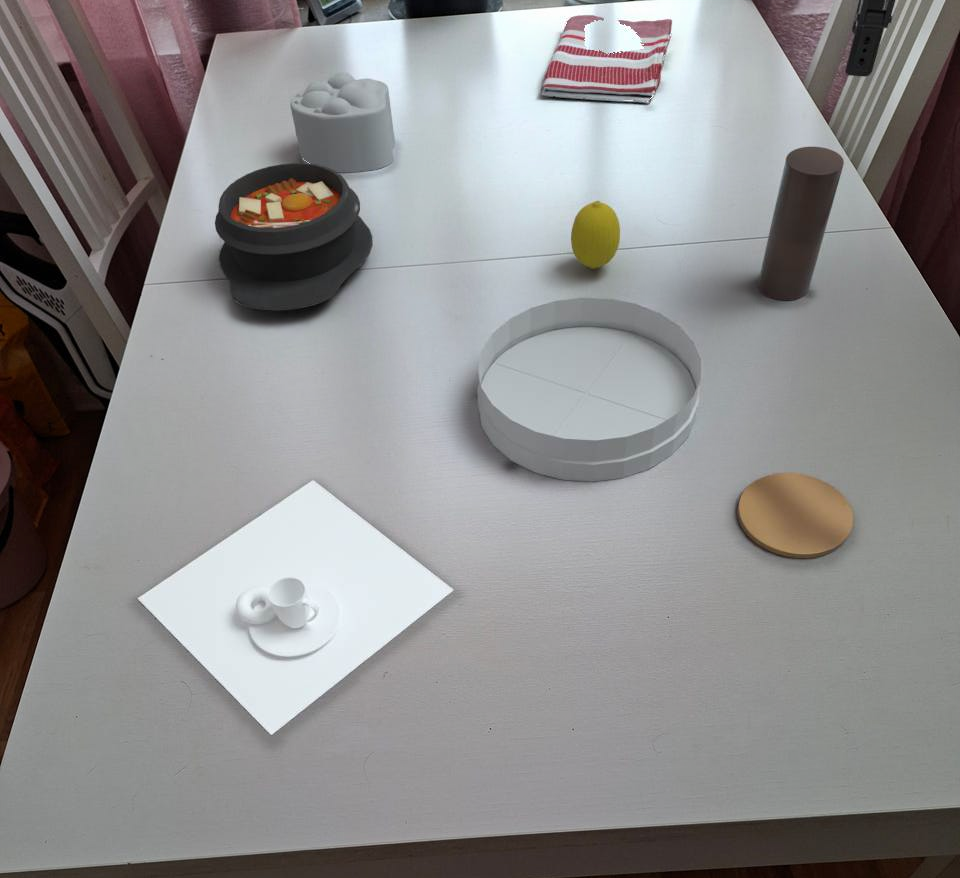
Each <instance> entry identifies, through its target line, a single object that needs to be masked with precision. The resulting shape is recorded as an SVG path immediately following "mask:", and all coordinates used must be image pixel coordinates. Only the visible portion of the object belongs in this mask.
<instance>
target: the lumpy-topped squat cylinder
mask: <svg viewBox="0 0 960 878" xmlns="http://www.w3.org/2000/svg"><path fill="white" fill-rule="evenodd" d="M389 92H390V90H389V86H388V85H387V84H386V83H385V82H383V81H380V80H376V79H373V78H360V79H359V78H358V79H355V78H354V76H353V75H352V74H350V73H348V72H345V71H340V72H337V73H335V74H334V75H332V76H331V77H329V79H328V80H327V81H325V80H315V81H313V82H310V83H309V84H308V85H307V87H306V88H305V89H304V90H301V91H300V92H298V93H296V94H295V95H294V96H293V97H292V98H291V99H290V104H289V107H290V111H291V115H292V121H293V125H294V130H295V135H296V139H297V144H298V149H299V153H300V158H301V161H302V163H307V162H309V163H310V164H315V165H320V166H324V167H327V168H329V169H332V170H334V171H336V172H337V173H339V174H341V173H343V174H344V173H359V172H367V171H376V170H380V169H382V168H385V167H388V166H389V165H391V164H392V162H394V152H393V150H394V148H395V144H396V141H395V140H396V139H395V138H396V137H395V130H394V122H393V116H392V106H391V99H390V98H391V97H390V93H389ZM301 156H302V157H301ZM302 158H304V160H306V161H307V162H306V161H304V160H303V159H302ZM309 163H307V164H309Z"/></svg>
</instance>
